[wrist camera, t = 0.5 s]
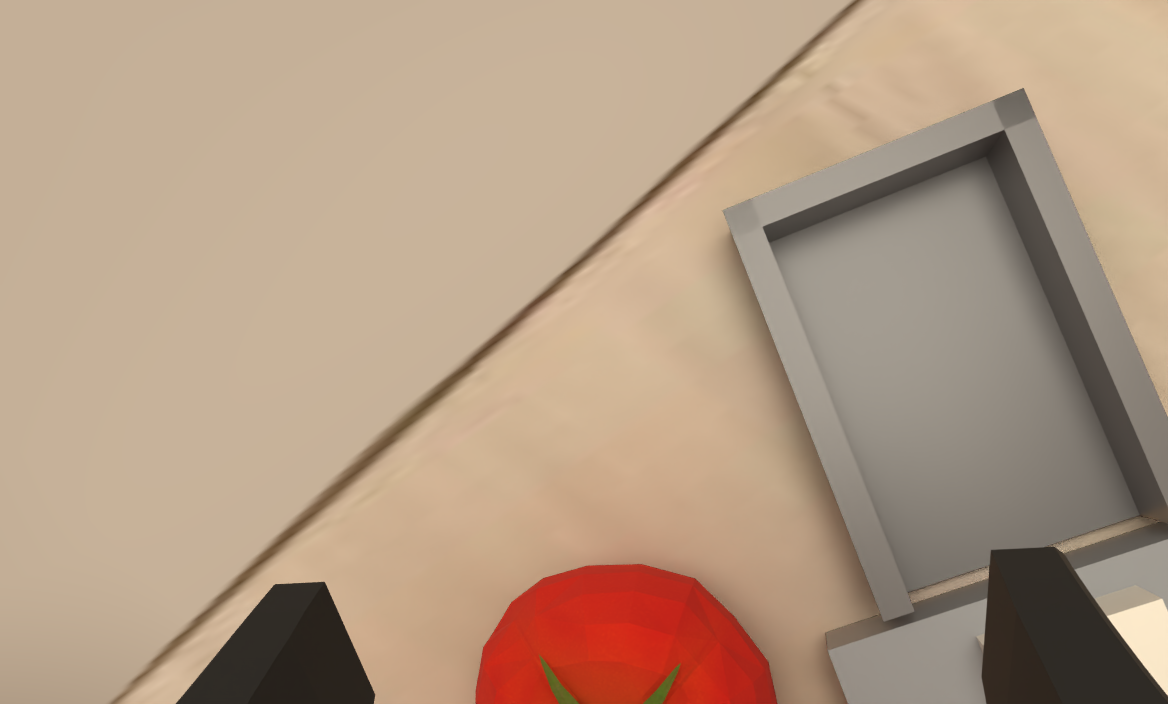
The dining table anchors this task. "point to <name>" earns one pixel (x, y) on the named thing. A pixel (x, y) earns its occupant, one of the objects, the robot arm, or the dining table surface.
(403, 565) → the dining table surface
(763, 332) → the dining table surface
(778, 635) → the dining table surface
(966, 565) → the box
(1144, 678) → the robot arm
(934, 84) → the dining table surface
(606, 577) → the tomato
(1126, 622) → the tile cream
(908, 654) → the slate board
